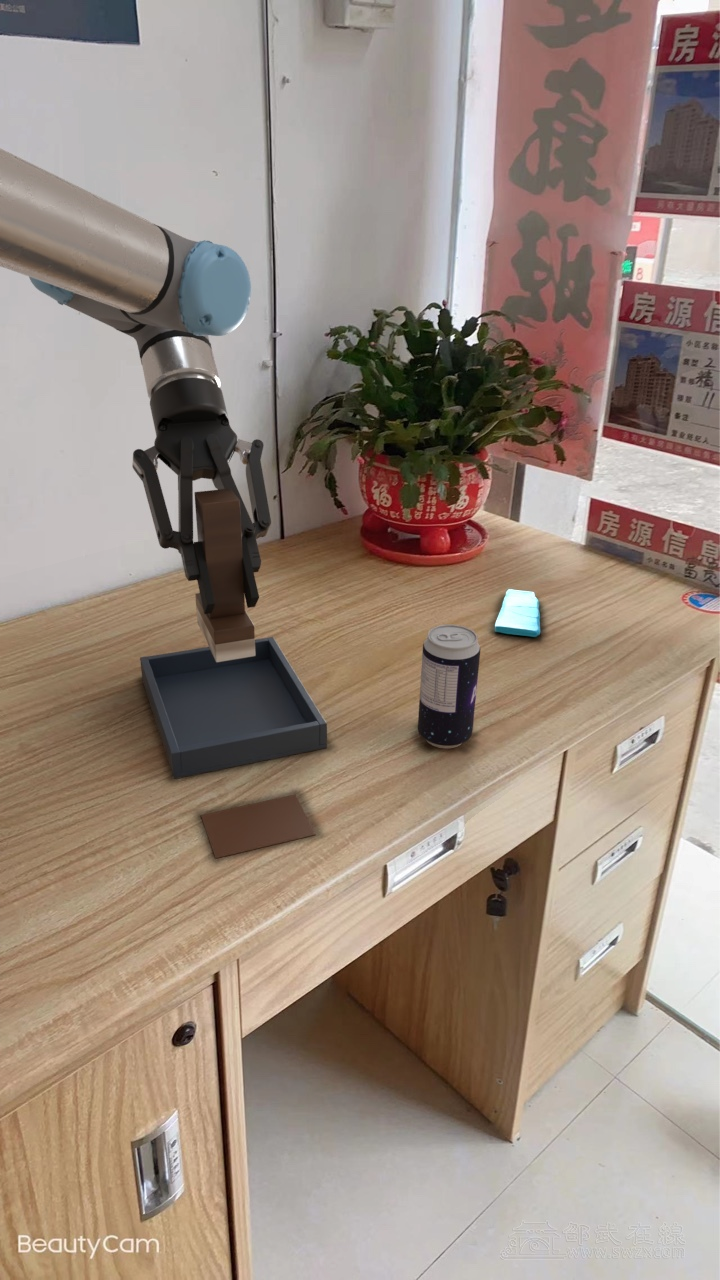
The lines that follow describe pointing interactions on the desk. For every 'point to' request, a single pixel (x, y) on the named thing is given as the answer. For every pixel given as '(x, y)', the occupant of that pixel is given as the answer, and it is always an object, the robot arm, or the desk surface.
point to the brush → (223, 576)
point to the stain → (256, 825)
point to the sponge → (519, 614)
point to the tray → (230, 708)
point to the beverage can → (448, 685)
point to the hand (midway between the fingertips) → (231, 605)
